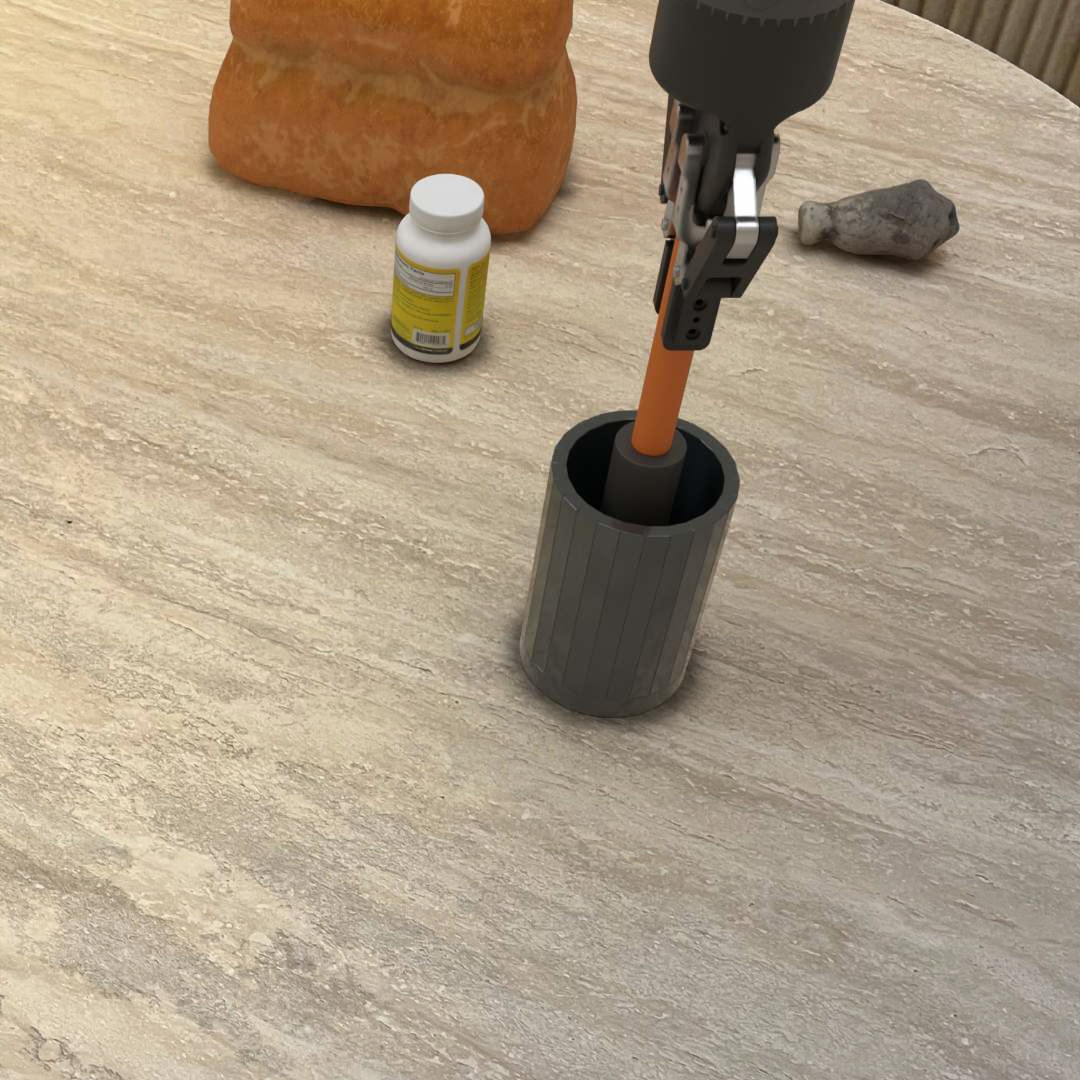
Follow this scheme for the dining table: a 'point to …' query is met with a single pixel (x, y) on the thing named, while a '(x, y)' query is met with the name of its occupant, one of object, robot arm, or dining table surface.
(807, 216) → the stone
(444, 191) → the pill bottle
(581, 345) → the dining table surface
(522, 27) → the bread
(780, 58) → the robot arm
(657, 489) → the brush
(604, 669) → the ribbed pencil cup
